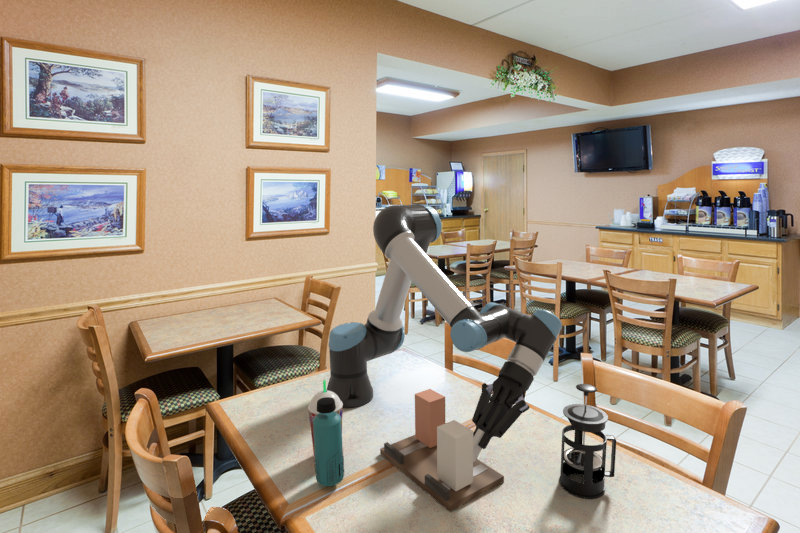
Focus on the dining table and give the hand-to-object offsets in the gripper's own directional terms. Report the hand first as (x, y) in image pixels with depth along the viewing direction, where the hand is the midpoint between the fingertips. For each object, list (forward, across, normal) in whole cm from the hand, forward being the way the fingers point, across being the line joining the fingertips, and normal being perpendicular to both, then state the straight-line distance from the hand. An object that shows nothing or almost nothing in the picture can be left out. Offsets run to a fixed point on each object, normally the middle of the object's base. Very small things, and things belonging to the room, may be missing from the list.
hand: (469, 458), depth 99 cm
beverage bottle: (+22, +19, +13) cm, 32 cm away
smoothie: (+19, +28, +10) cm, 36 cm away
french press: (-9, -16, -18) cm, 26 cm away
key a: (+5, 0, 0) cm, 6 cm away
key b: (+1, +16, -5) cm, 17 cm away
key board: (+5, +8, -3) cm, 10 cm away
